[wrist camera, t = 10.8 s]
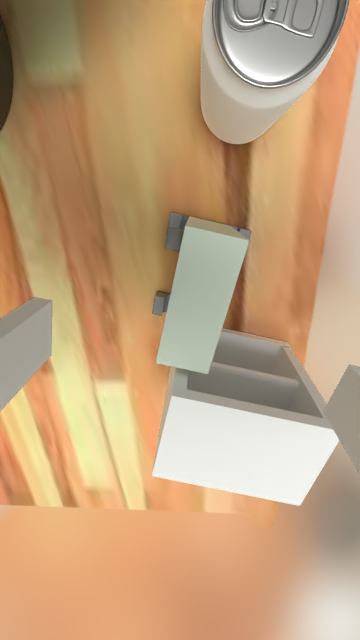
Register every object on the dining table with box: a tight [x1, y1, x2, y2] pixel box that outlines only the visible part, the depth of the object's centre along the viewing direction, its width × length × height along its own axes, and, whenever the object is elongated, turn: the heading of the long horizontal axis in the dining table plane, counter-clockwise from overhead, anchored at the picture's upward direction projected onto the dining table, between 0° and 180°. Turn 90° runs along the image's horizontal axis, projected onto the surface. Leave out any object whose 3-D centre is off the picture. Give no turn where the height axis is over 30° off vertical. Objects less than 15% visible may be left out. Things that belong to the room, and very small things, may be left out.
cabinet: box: [152, 212, 339, 506], centre depth 24 cm, size 18×15×13 cm
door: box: [156, 216, 249, 374], centre depth 23 cm, size 10×5×10 cm, turn 168°
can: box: [201, 0, 349, 144], centre depth 17 cm, size 6×6×12 cm
